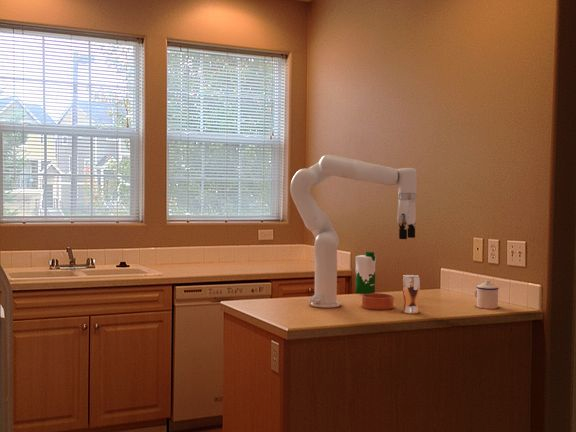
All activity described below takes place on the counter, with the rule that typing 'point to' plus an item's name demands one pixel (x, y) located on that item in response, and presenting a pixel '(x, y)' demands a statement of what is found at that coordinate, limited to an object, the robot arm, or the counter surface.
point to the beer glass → (411, 293)
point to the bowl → (377, 301)
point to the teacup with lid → (487, 295)
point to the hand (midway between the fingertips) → (407, 238)
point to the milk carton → (365, 273)
